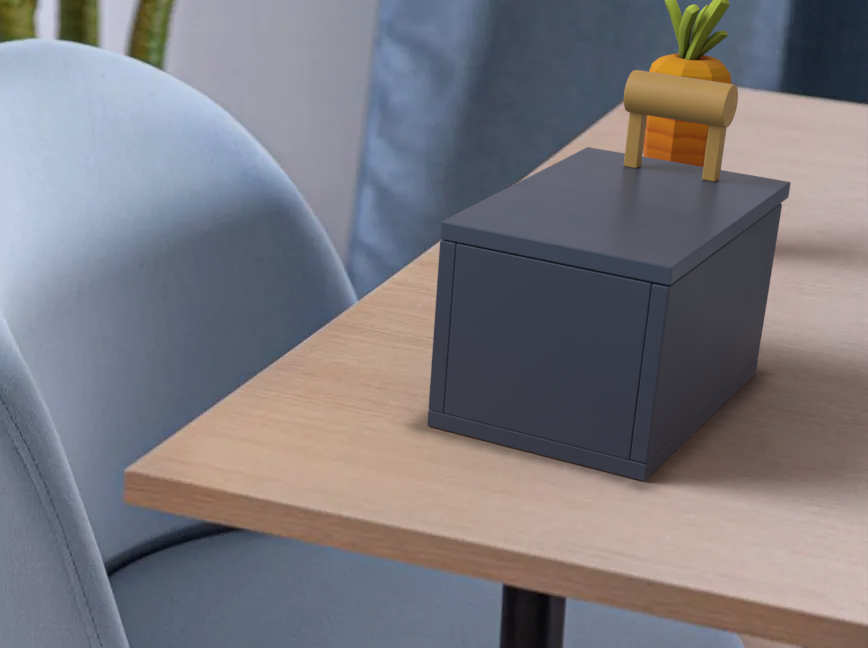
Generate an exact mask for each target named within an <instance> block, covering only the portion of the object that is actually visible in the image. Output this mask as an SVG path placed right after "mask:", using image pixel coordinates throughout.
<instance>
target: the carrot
mask: <svg viewBox="0 0 868 648" xmlns="http://www.w3.org/2000/svg"><path fill="white" fill-rule="evenodd" d="M664 4H665V7H666V9H667V12H668V13H669V17H670V21H671V24H672V27H673V28H672V29H673V32H674V34H675V39H676V42H677V46H678V53H677V52H676V53H672V54H666V55H663V56H661V57H660V56H659V57H658V58H657V59H655V60H654V61H653V62H652V63H651V65H650V66H649V67H650V68H649V71H648V72H654V73H661V74H667V75H674V76H681V77H687V78H694V79H701V80H707V81H714V82H721V83H727V84H732V76H731V75H732V74H731V73H730V71H729V70H728V67H726V65H725V64H724V63H723V62H722V60H720V59H719V58H717V57H714V56H710V55H706V54H707V53H708V52H709V51H711V50H712V49H713V48H715V47H716V46H718V45H719V44H720V43H721V42H722V41H724V40H725V39H727V37H729V33H728V32H727V31H726V30H717V31H715V32H713V30H714V29H715V28H716V27H717V25H718V23H719V22H720V21H721V19H722V18H723V17H724V15H725V13H726V12H727V10H728V9H729V7H730V0H712V1H711V2H710V3H709V4H707V5H705V6H704V7H703V8H702V9H701V7H699V5H698V4H694V3H693V4H690V5H688V6H687V7H686V8H685V9H684V12H683V14H682V10H681V8H680V5H679V2H678V1H677V0H664ZM708 130H709V125H705V124H699V123H693V122H687V121H681V120H674V119H668V118H662V117H656V116H650V115H647V122H646V130H645V139H644V147H643V155H642V156H643V157H648V158H654V159H660V160H666V161H671V162H677V163H683V164H689V165H695V166H700V167H704V160H705V152H706V145H707V138H708Z"/></svg>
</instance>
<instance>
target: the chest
mask: <svg viewBox="0 0 868 648" xmlns="http://www.w3.org/2000/svg"><path fill="white" fill-rule="evenodd" d="M782 209H783V204H782V203H780V204H779V205H778V206H776V207H775V208H774V209H772V210H771V211H770V212H768V213H767V214H765V215H764V216H763V217H761V218H760V219H759V220H757V221H756V222H755V223H753V224H752V225H751V226H749V227H748V228H747V229H745V230H744V231H743V232H741V233H740V234H739V235H737V236H736V237H735V238H733V239H732V240H730V241H729V242H728V243H726V244H725V245H724V246H722V247H721V248H720V249H718V250H717V251H716V252H714V253H713V254H712V255H710V256H709V257H708V258H706V259H705V260H704V261H702V262H701V263H699V264H698V265H697V266H695V267H694V268H693V269H691V270H690V271H689V272H687V273H686V274H685V275H683V276H682V277H681V278H679V279H678V280H677V281H675V282H674V283H673V284H671V285H664V284H659V283H655V282H650V281H645V280H640V279H635V278H630V277H625V276H620V275H615V274H610V273H606V272H601V271H596V270H591V269H586V268H581V267H576V266H571V265H566V264H561V263H556V262H552V261H547V260H542V259H537V258H532V257H527V256H522V255H517V254H512V253H507V252H503V251H498V250H493V249H488V248H483V247H478V246H473V245H468V244H463V243H458V242H454V241H449V240H444V239H441V240H440V241H439V249H438V250H439V252H438V264H437V265H438V267H437V281H436V295H435V309H434V323H433V338H432V351H431V366H430V379H429V380H430V382H429V396H428V410H427V423H426V425H427V426H428V427H431V428H435V429H439V430H443V431H447V432H451V433H455V434H458V435H462V436H467V437H470V438H473V439H477V440H482V441H485V442H490V443H494V444H497V445H501V446H506V447H509V448H512V449H517V450H521V451H525V452H529V453H533V454H537V455H540V456H544V457H549V458H553V459H556V460H560V461H564V462H568V463H571V464H576V465H580V466H583V467H587V468H590V469H591V468H592V469H595V470H599V471H602V472H603V471H604V472H607V473H611V474H614V475H619V476H623V477H626V478H630V479H635V480H638V481H642V482H645V481H646V480H647V479H648V478H650V477H651V475H653V474H654V472H656V471H657V470H658V468H660V467H661V466H662V465H663V464H665V462H666V461H667V460H668V459H669V458H670V457H671V456H672V455H673V454H674V453H675V452H676V451H677V450H679V449H680V448H681V447H682V446H683V445H684V443H686V442H687V441H688V440H689V439H690V438H691V437H692V436H693V435H694V434H695V433H696V432H697V431H698V430H699V429H700V428H702V426H704V425H705V424H706V423H707V422H708V421H709V420H710V419H711V418H712V417H713V416H714V415H715V414H716V413H717V412H718V411H719V410H720V409H721V408H722V407H723V406H724V405H725V404H727V402H728V401H729V400H730V399H732V397H733V396H735V394H737V393H738V392H739V391H740V390H741V389H742V388H743V387H744V386H745V385H746V384H747V383H748V382H749V381H750V380H752V378H753V377H754V376H756V374H757V369H758V363H759V361H758V359H759V356H760V350H761V349H760V348H761V344H762V343H761V341H762V336H763V329H764V324H765V317H766V310H767V304H768V297H769V290H770V285H771V278H772V273H773V265H774V260H775V253H776V248H777V247H776V246H777V241H778V233H779V228H780V222H781V215H782Z"/></svg>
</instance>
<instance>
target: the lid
mask: <svg viewBox="0 0 868 648" xmlns="http://www.w3.org/2000/svg"><path fill="white" fill-rule="evenodd" d="M738 101H739V89H738V86H737V84H733V83H731V84H727V83H721V82H714V81H707V80H701V79H694V78H687V77H681V76H674V75H667V74H661V73H654V72H649V71H647V70H641V69H633V70H632V71H631V72H630V74H629V76H628V77H627V80H626V84H625V87H624V92H623V107H624V111H626V113H629V115H628V122H627V131H626V132H627V134H626V142H625V150H624V152H619V151H613V150H607V149H601V148H595V147H589V146H587V147H585V148H583V149H580V150H579V151H577V152H575V153H572V154H571V155H569V156H567V157H565V158H563V159H561V160H559V161H557V162H556V163H553V164H552V165H550V166H547V167H545V168H544V169H542V170H539V171H537V172H536V173H533V174H531V175H530V176H527V177H525V178H523V179H522V180H520V181H518V182H517V183H514V184H512V185H511V186H509V187H506V188H505V189H503V190H500V191H499V192H496V193H495V194H493V195H490V196H489V197H486V198H485V199H483V200H481V201H478V202H477V203H475V204H473V205H471V206H469V207H467V208H465V209H463V210H462V211H459V212H457V213H456V214H453V215H451V216H450V217H448V218H446V219H444V220H442V221H441V223H440V236H439V238H440V239H441V240H442V239H444V240H449V241H454V242H458V243H463V244H468V245H473V246H478V247H483V248H488V249H493V250H498V251H503V252H507V253H512V254H517V255H522V256H527V257H532V258H537V259H542V260H547V261H552V262H556V263H561V264H566V265H571V266H576V267H581V268H586V269H591V270H596V271H601V272H606V273H610V274H615V275H620V276H625V277H630V278H635V279H640V280H645V281H650V282H655V283H659V284H664V285H671V284H673V283H674V282H675V281H677V280H678V279H679V278H681V277H682V276H683V275H685V274H686V273H687V272H689V271H690V270H691V269H693V268H694V267H695V266H697V265H698V264H699V263H701V262H702V261H704V260H705V259H706V258H708V257H709V256H710V255H712V254H713V253H714V252H716V251H717V250H718V249H720V248H721V247H722V246H724V245H725V244H726V243H728V242H729V241H730V240H732V239H733V238H735V237H736V236H737V235H739V234H740V233H741V232H743V231H744V230H745V229H747V228H748V227H749V226H751V225H752V224H753V223H755V222H756V221H757V220H759V219H760V218H761V217H763V216H764V215H765V214H767V213H768V212H770V211H771V210H772V209H774V208H775V207H776V206H778V205H779V204H780V203H781V204H782V203H784V202H785V201H786V200H787V199H788V198H789V196H790V190H791V184H792V183H791V181H789V180H788V181H787V180H782V179H776V178H769V177H764V176H757V175H753V174H747V173H741V172H734V171H729V170H722V164H723V157H724V148H725V142H726V137H727V136H726V135H727V128H729V127H730V126H731V125H732V123H733V121H734V118H735V115H736V113H737V107H738ZM647 115H650V116H656V117H662V118H668V119H674V120H681V121H687V122H693V123H699V124H705V125H709V130H708V138H707V145H706V152H705V160H704V167H700V166H695V165H689V164H683V163H677V162H671V161H666V160H660V159H654V158H648V157H644V155H643V147H644V139H645V130H646V122H647Z"/></svg>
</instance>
